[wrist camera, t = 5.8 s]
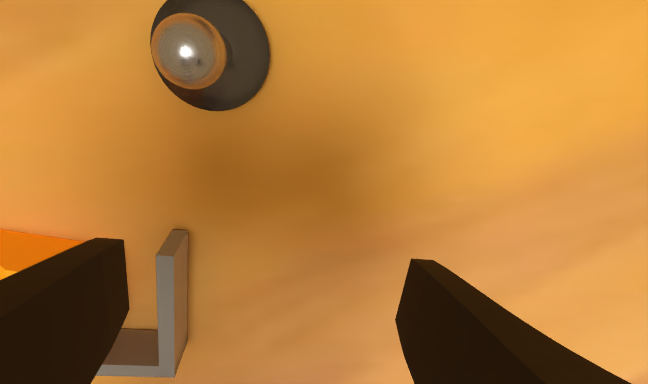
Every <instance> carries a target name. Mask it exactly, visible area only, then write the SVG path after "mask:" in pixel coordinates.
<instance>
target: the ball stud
mask: <svg viewBox="0 0 648 384" xmlns="http://www.w3.org/2000/svg"><path fill="white" fill-rule="evenodd" d="M150 44H151V53H152V57H153V61H154V64H155V67H156V69H157V71H158V73H159V75H160V77H161V78H162V80H163V82H164V83H165V84H166V85H167V87H168V88H169V89H170V90H171V91H172V92H173V93H174V94H175V95H176V96H178V97H179V98H180V99H181V100H183V101H185V102H186V103H188V104H190V105H192V106H194V107H197V108H200V109H204V110H209V111H225V110H230V109H233V108H236V107H239V106H241V105H243V104H244V103H246V102H247V101H249V100H250V99H251V98H252V97H253V96H254V95H255V94H256V93H257V92H258V91H259V89H260V88H261V87H262V85H263V83H264V82H265V79H266V77H267V75H268V71H269V67H270V58H271V52H270V44H269V40H268V36H267V33H266V30H265V28H264V26H263V24H262V22H261V21H260V19H259V18H258V16H257V15H256V14H255V13H254V11H253V10H252V9H251V8H250V7H249V6H248V5H247V4H246V3H245V2H244V1H242V0H167V1H166V2H165V3H164V4H163V5H162V7H161V8H160V10H159V11H158V13H157V15H156V17H155V19H154V23H153V26H152V31H151V42H150Z"/></svg>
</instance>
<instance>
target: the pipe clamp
mask: <svg viewBox="0 0 648 384" xmlns="http://www.w3.org/2000/svg"><path fill="white" fill-rule="evenodd" d="M81 243H84V242H83V241H76V240H69V239H62V238H56V237H49V236H42V235H35V234H29V233H22V232H15V231H8V230H2V229H0V280H1V279H4V278H6V277H8V276H10V275H12V274H15V273H17V272H19V271H21V270H23V269H26V268H28V267H30V266H32V265H34V264H37V263H39V262H41V261H43V260H45V259H47V258H50V257H52V256H54V255H56V254H58V253H61V252H63V251H65V250H67V249H70V248H72V247H74V246H76V245H79V244H81Z"/></svg>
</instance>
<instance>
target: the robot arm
mask: <svg viewBox="0 0 648 384" xmlns="http://www.w3.org/2000/svg"><path fill="white" fill-rule="evenodd" d="M128 311H129V298H128V286H127V274H126V262H125V250H124V240H122V239H107V238H94V239H92V240H89V241H86V242H84V243H81V244H79V245H76V246H74V247H72V248H70V249H67V250H65V251H63V252H61V253H58V254H56V255H54V256H52V257H50V258H47V259H45V260H43V261H41V262H39V263H37V264H34V265H32V266H30V267H28V268H26V269H23V270H21V271H19V272H17V273H15V274H12V275H10V276H8V277H6V278H4V279H1V280H0V384H91V382H92V380H93V379H94V377H95V375H96V374H97V372H98V370H99V369H100V367H101V366H102V364H103V362H104V361H105V359H106V357H107V356H108V354H109V352H110V350H111V349H112V347H113V345H114V342H115V340H116V338H117V336H118V334H119V332H120V330H121V327H122V325H123V323H124V320H125V318H126V316H127V313H128ZM395 321H396V325H397V330H398V334H399V338H400V342H401V346H402V350H403V354H404V357H405V360H406V363H407V365H408V368H409V370H410V373H411V376H412V378H413V381H414V384H631V383H629V382H627V381H625V380H623V379H621V378H620V377H618V376H616V375H614V374H612V373H610V372H608V371H606V370H605V369H603V368H601V367H599V366H597V365H596V364H594V363H592V362H590V361H589V360H587V359H585V358H583V357H581V356H580V355H578V354H576V353H574V352H572V351H571V350H569V349H567V348H566V347H564V346H562V345H561V344H559V343H557V342H556V341H554V340H552V339H551V338H549V337H547V336H546V335H544V334H543V333H541V332H540V331H538V330H536V329H535V328H533V327H532V326H530V325H529V324H527V323H525V322H524V321H522V320H521V319H519V318H518V317H516V316H515V315H513V314H512V313H510V312H509V311H507V310H506V309H504V308H503V307H502V306H500V305H499V304H497V303H496V302H494V301H493V300H491V299H490V298H489V297H487V296H486V295H484V294H483V293H481V292H480V291H479V290H477V289H476V288H474V287H473V286H471V285H470V284H469V283H467V282H466V281H464V280H463V279H462V278H460V277H459V276H457V275H456V274H454V273H453V272H451V271H450V270H448V269H447V268H445V267H444V266H442V265H441V264H439V263H437V262H435V261H434V260H424V259H411V261H410V265H409V269H408V273H407V276H406V280H405V284H404V288H403V292H402V296H401V300H400V304H399V307H398V311H397V315H396V319H395Z"/></svg>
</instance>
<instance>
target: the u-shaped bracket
mask: <svg viewBox="0 0 648 384" xmlns="http://www.w3.org/2000/svg"><path fill="white" fill-rule="evenodd" d="M156 278H157V313H158V330H141V329H121V330H120V332H119V334H118V336H117V338H116V340H115V342H114V345H113V347H112V349H111V350H110V352H109V354H108V356H107V357H106V359H105V361H104V362H103V364H102V366H101V367H100V369H99V370H98V372H97V374H96V375H95V376H134V377H173V378H175V375H176V372H177V369H178V366H179V363H180V360H181V358H182V355H183V352H184V349H185V346H186V343H187V299H188V231H186V230H174V229H173V230H172V231H171V233H170V234H169V236H168V237H167V239H166V240H165V242H164V244H163V245H162V247H161V248H160V250H159V251H158V253H157V254H156Z"/></svg>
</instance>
